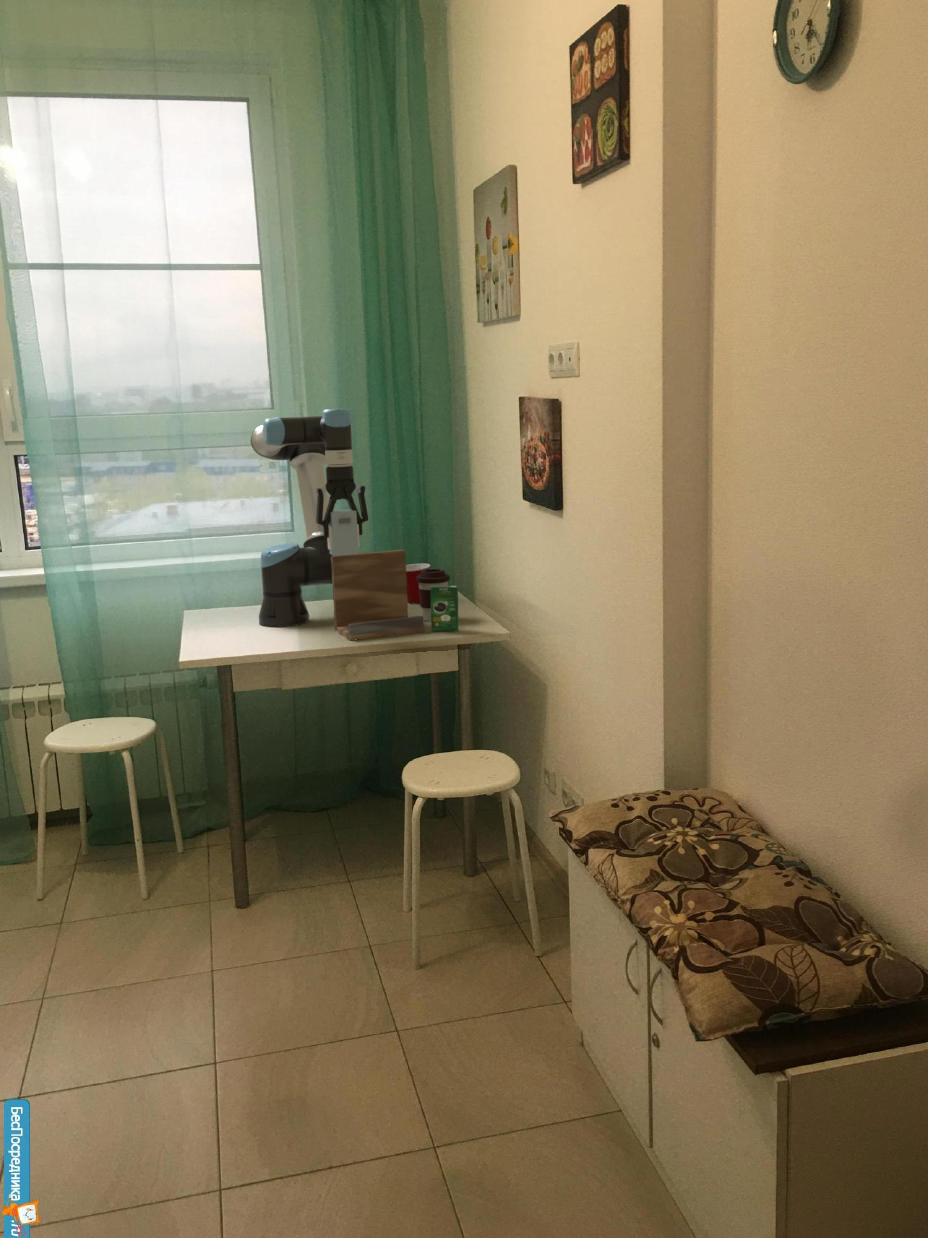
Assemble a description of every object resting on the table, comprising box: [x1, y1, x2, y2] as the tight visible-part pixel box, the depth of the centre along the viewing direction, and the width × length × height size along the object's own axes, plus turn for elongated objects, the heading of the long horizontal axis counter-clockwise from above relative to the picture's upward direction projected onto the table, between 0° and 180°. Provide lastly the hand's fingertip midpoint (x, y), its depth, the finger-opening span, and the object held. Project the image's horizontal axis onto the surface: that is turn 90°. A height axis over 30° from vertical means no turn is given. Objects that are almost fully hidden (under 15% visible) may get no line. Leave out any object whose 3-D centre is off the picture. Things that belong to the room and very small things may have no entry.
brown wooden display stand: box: [331, 549, 425, 641], centre depth 313 cm, size 15×22×22 cm
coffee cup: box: [417, 568, 451, 623], centre depth 328 cm, size 10×10×15 cm
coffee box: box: [430, 585, 459, 632], centre depth 313 cm, size 8×3×13 cm, turn 88°
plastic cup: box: [406, 563, 431, 604], centre depth 357 cm, size 11×11×12 cm
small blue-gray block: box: [329, 508, 359, 556], centre depth 305 cm, size 6×7×12 cm
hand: (343, 547), depth 306 cm, fingers closed on small blue-gray block, 7 cm apart
